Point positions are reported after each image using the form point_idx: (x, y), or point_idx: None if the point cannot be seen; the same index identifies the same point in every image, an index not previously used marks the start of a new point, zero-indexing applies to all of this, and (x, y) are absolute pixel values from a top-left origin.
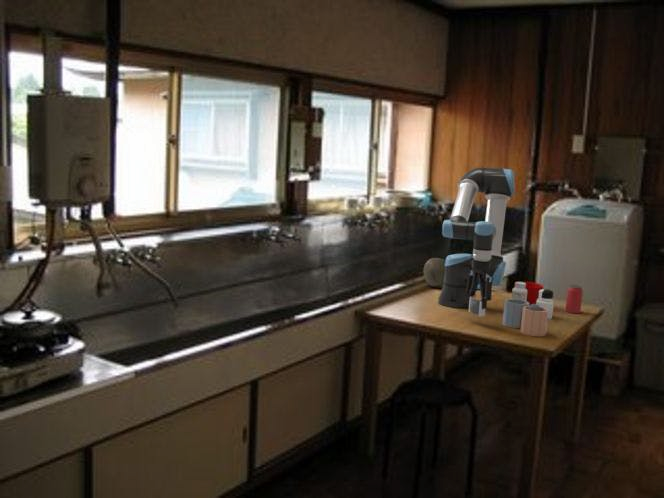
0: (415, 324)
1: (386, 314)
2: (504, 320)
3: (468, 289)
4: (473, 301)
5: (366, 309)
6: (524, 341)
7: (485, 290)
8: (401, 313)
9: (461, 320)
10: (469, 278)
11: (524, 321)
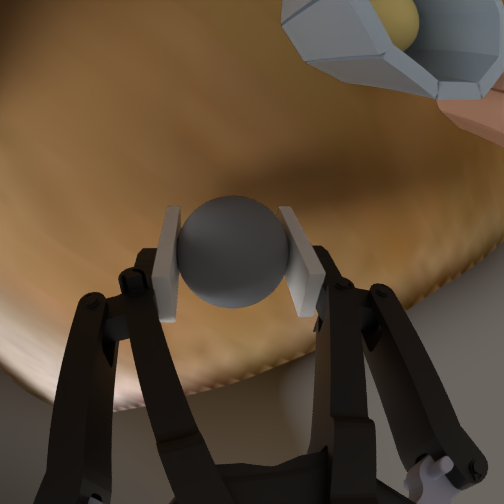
0: (186, 395)
1: None
2: (339, 74)
3: (114, 363)
4: (218, 304)
5: (39, 398)
6: (488, 211)
7: (384, 392)
8: (59, 367)
9: None
10: (111, 477)
11: (496, 143)
